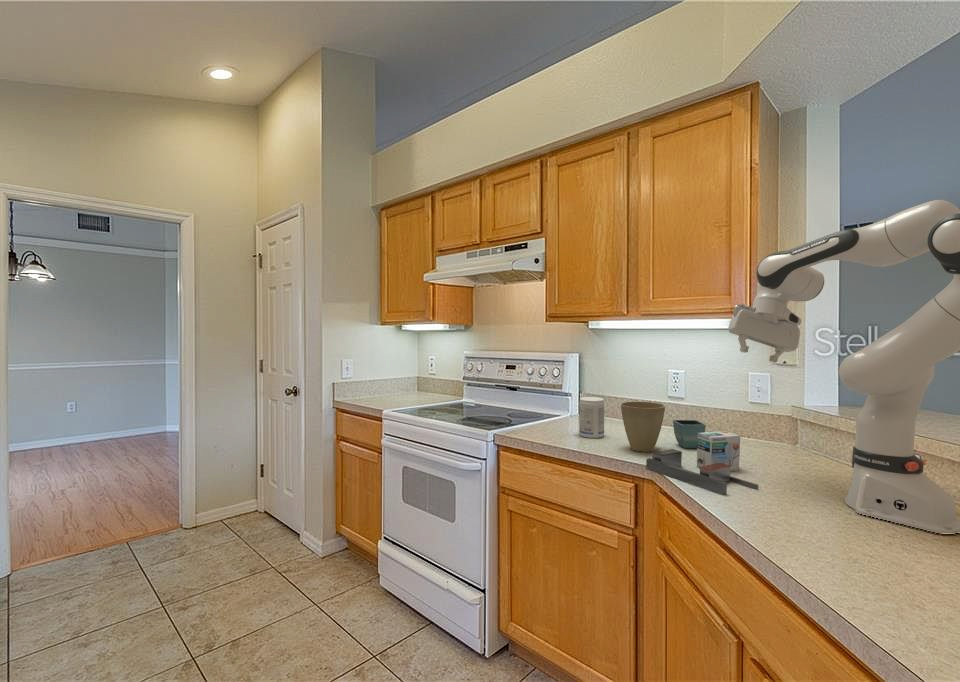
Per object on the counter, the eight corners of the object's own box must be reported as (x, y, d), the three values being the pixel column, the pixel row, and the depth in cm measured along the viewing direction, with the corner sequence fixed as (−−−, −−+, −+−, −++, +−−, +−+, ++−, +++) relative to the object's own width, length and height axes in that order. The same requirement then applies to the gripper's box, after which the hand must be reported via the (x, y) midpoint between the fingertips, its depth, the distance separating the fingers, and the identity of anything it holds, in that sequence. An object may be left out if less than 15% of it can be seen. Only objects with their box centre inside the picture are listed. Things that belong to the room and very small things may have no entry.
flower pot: (671, 443, 184) (672, 419, 184) (695, 444, 184) (696, 419, 184) (680, 449, 175) (681, 424, 175) (705, 450, 175) (706, 424, 175)
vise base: (758, 489, 135) (758, 471, 135) (728, 496, 129) (728, 478, 129) (674, 462, 159) (675, 448, 159) (646, 468, 153) (646, 453, 153)
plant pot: (662, 445, 181) (663, 402, 180) (666, 456, 166) (667, 409, 166) (619, 442, 185) (620, 400, 184) (619, 453, 170) (620, 406, 170)
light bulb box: (711, 473, 149) (712, 437, 149) (695, 466, 155) (696, 432, 155) (740, 470, 152) (741, 435, 151) (724, 464, 158) (725, 430, 158)
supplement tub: (597, 432, 201) (598, 396, 201) (608, 438, 192) (609, 400, 191) (575, 433, 199) (575, 397, 198) (585, 439, 190) (585, 400, 189)
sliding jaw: (729, 480, 141) (730, 465, 141) (708, 485, 136) (709, 469, 136) (720, 477, 143) (720, 462, 143) (699, 482, 139) (699, 466, 139)
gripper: (742, 299, 144) (732, 344, 142) (806, 321, 146) (797, 366, 143) (729, 304, 151) (719, 347, 148) (791, 325, 152) (782, 368, 150)
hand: (758, 356), depth 146 cm, fingers open, 8 cm apart
